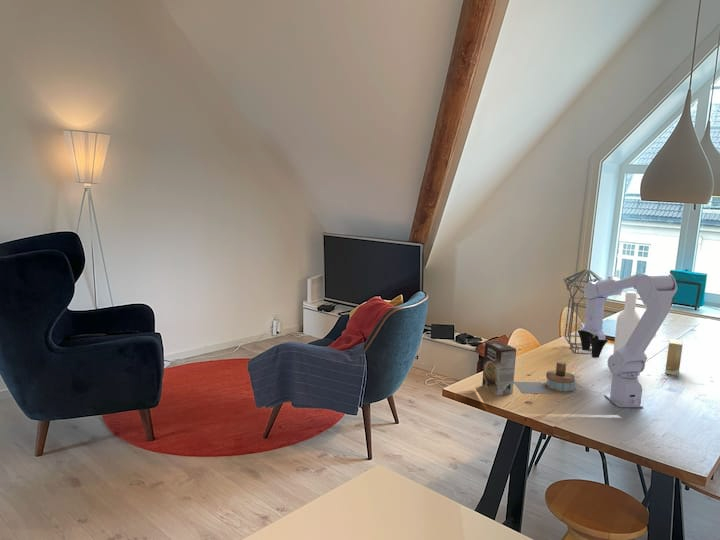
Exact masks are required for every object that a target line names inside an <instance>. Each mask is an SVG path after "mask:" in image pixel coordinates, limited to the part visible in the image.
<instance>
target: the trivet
mask: <svg viewBox="0 0 720 540" xmlns="http://www.w3.org/2000/svg"><path fill="white" fill-rule="evenodd" d="M513 385H515V386H516V388H518V390H519V392H521V394H530V395H531V394H535V395H536V394H539V395H541V394H542V395H543V394H545V395H552V394H553V392H552V391H551V390H550V389H549V387H548V386H547V385H545V384H544V383H543V382H542V381H541V382H540V381H514V384H513Z"/></svg>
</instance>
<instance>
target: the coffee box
mask: <svg viewBox="0 0 720 540" xmlns="http://www.w3.org/2000/svg"><path fill="white" fill-rule="evenodd" d="M516 359H517V348H515V347H513V346H511V345H508V344H507V343H505V342H503V341H501V340H498V341H486V342H484V355H483V367H482V368H483V372H482V384H481V385H482V387H483V388H484V389H486V390H487V391H490V392H492V393H493V394H494V395H496V396H503V395H505V396H506V395H511V394H513V393H514V385H515V384H514V382H515V380H514V379H515V372H516V371H515V370H516V369H515V368H516Z"/></svg>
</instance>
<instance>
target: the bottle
mask: <svg viewBox="0 0 720 540" xmlns="http://www.w3.org/2000/svg"><path fill="white" fill-rule="evenodd" d="M637 298H638V292H637V291H636V292H635V291H629V290H628V291H626V292H625V300H624V308H623V310H622V311H620V312H618V313H619V314H618V316H617V318H616V325H615V335H614V345H613V353H612V355H613V354H614V353H615V351H616V350H618V349H619V348H621V347H623V346H625V345H626V343H627V341H628V340H629V338H630V336H631V334H632V333H633V331H634V329H635V328H636V326H637V324H638V322H639V321H640V319H641V317H640V315H639V313H637V311H636V307H637V306H636V304H637Z"/></svg>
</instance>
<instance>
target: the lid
mask: <svg viewBox="0 0 720 540" xmlns="http://www.w3.org/2000/svg"><path fill="white" fill-rule="evenodd" d="M555 367H556V368H555V369H552V370H547V372H546V373H545V374H546V375H545V377H546V379H547V378H548V379H549V380H551V381H554V382H558V383H572V382H574V379H576V377H575V375H574V374H573V373H571V372H568V371H566V369H567V363H565V362H562V361H557V362H556V365H555Z"/></svg>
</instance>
